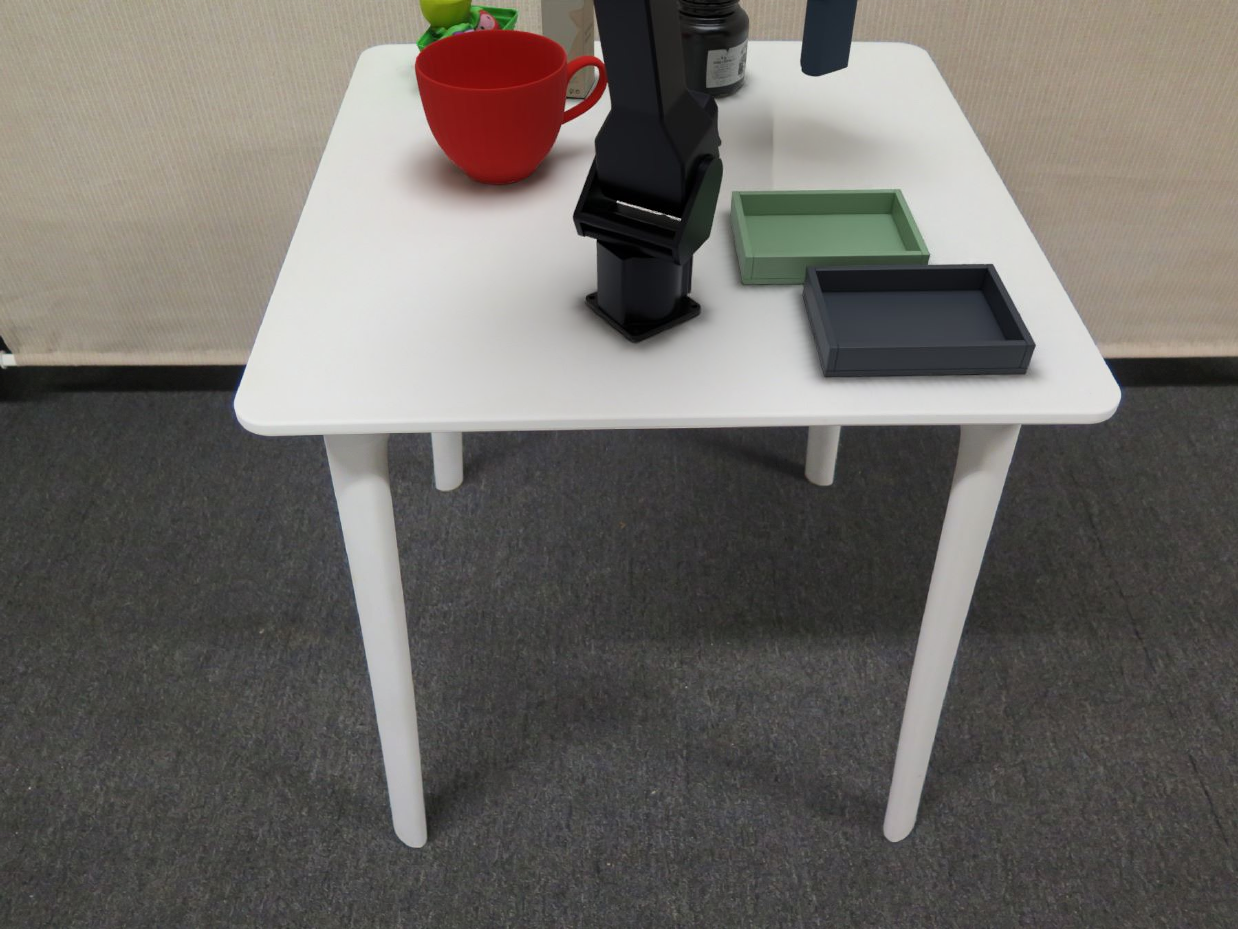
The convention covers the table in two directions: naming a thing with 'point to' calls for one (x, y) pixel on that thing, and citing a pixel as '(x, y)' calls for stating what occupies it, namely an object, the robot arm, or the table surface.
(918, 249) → the sage tray
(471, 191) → the table surface
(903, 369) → the charcoal tray
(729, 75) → the ink bottle
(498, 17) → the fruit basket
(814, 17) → the vaping device
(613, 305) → the robot arm
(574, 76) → the box
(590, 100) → the ceramic cup
